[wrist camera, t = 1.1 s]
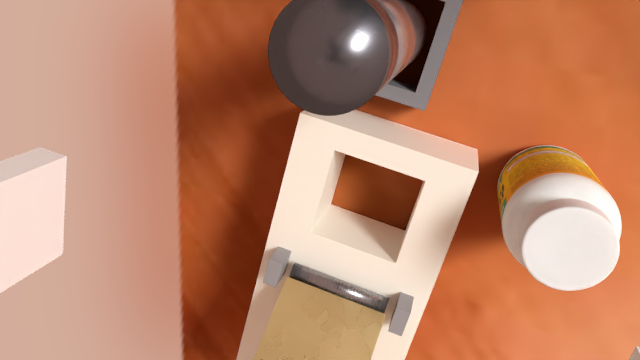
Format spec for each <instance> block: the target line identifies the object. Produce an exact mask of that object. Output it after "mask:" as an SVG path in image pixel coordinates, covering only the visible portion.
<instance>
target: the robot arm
mask: <svg viewBox="0 0 640 360" xmlns="http://www.w3.org/2000/svg"><path fill="white" fill-rule="evenodd" d="M66 161H67V156H65V155H61V154H59V153H56V152H52V151H49V150H46V149H43V148H40V147H39V148H36V149H33V150H31V151H28V152H25V153H22V154H19V155H17V156H13V157H11V158H8V159H5V160H2V161H0V293H1V292H3V291H4V290H6V289H8V288H9V287H11V286H13V285H14V284H16V283H17V282H19V281H21V280H22V279H24V278H25V277H27V276H29V275H30V274H32V273H33V272H35V271H36V270H38V269H40V268H41V267H43V266H45V265H46V264H48V263H49V262H51V261H53V260H54V259H56V258H57V257H59V256H60V255H62V254H63V238H64V237H63V236H64V213H65V187H66ZM629 360H640V347H638V346H636V347H635V349H634V351H633V353H632V355H631V357H630V359H629Z"/></svg>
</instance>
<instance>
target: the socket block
mask: <svg viewBox="0 0 640 360" xmlns="http://www.w3.org/2000/svg"><path fill="white" fill-rule="evenodd" d="M346 154H347V155H350V156H353V157H356V158H359V159H362V160H365V161H368V162H371V163H374V164H377V165H379V166H382V167H385V168H388V169H391V170H394V171H397V172H400V173H403V174H406V175H409V176H412V177H415V178H418V179H421V180H423V183H422V186H421V189H420V191H419V194H418V197H417V200H416V203H415V205H414V208H413V211H412V214H411V217H410V219H409V222H408V225H407V228H406V230H402V229H399V228H397V227H394V226H391V225H388V224H385V223H383V222H380V221H377V220H374V219H371V218H369V217H366V216H363V215H360V214H357V213H354V212H352V211H349V210H346V209H343V208H340V207H338V206H335V205H332V204H331V202H332V199H333V195H334V192H335V189H336V185H337V182H338V178H339V175H340V172H341V168H342V165H343V162H344V158H345V155H346ZM478 173H479V165H478V149H475V148H472V147H469V146H466V145H463V144H460V143H457V142H454V141H451V140H448V139H444V138H441V137H438V136H435V135H432V134H429V133H426V132H423V131H420V130H417V129H414V128H411V127H408V126H405V125H401V124H398V123H395V122H392V121H389V120H386V119H383V118H380V117H377V116H374V115H371V114H368V113H365V112H362V111H358V110H353V111H351V112H349V113H345V114H342V115H336V116H323V115H317V114H313V113H310V112H308V111H305V110H304V111H302V112H301V113H300V116H299V119H298V123H297V127H296V131H295V135H294V139H293V143H292V146H291V150H290V154H289V158H288V162H287V166H286V170H285V173H284V177H283V181H282V185H281V189H280V193H279V196H278V200H277V204H276V208H275V212H274V216H273V220H272V223H271V227H270V231H269V235H268V239H267V243H266V247H265V250H264V254H263V258H262V262H261V266H260V270H259V274H258V277H257V281H256V285H255V289H254V293H253V297H252V301H251V304H250V308H249V312H248V316H247V320H246V324H245V328H244V331H243V335H242V339H241V343H240V347H239V351H238V355H237V358H236V360H253V359H254V356H255V354H256V352H257V349H258V347H259V344H260V342H261V339H262V337H263V334H264V332H265V329H266V327H267V325H268V322H269V320H270V317H271V315H272V312H273V310H274V307H275V305H276V302H277V300H278V298H279V295H280V293H281V290H282V288H283V285H284V283H285V280H286V278H287V277H289V276H290V272H291V269H292V267H293V265H294V263H295V262H296V263H298V264H301V265H304V266H306V267H309V268H312V269H314V270H317V271H320V272H322V273H325V274H328V275H330V276H333V277H335V278H338V279H341V280H343V281H346V282H349V283H351V284H354V285H357V286H359V287H362V288H365V289H367V290H370V291H373V292H375V293H378V294H380V295H383V296H386V297H388V298H389V301H388V304H387V307H386V310H385V312H384V314H386V315H385V318H384V321H383V324H382V327H381V330H380V333H379V336H378V339H377V342H376V345H375V348H374V351H373V354H372V357H371V360H404V359H405V357H406V354H407V352H408V349H409V347H410V344H411V342H412V339H413V337H414V334H415V332H416V329H417V327H418V324H419V322H420V319H421V317H422V314H423V312H424V309H425V306H426V304H427V301H428V299H429V296H430V294H431V291H432V289H433V286H434V284H435V281H436V279H437V276H438V274H439V271H440V269H441V266H442V264H443V261H444V259H445V256H446V254H447V251H448V249H449V246H450V243H451V241H452V238H453V236H454V233H455V231H456V228H457V226H458V223H459V221H460V218H461V216H462V213H463V211H464V208H465V206H466V203H467V201H468V198H469V196H470V193H471V191H472V188H473V186H474V183H475V180H476V178H477V175H478Z"/></svg>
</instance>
